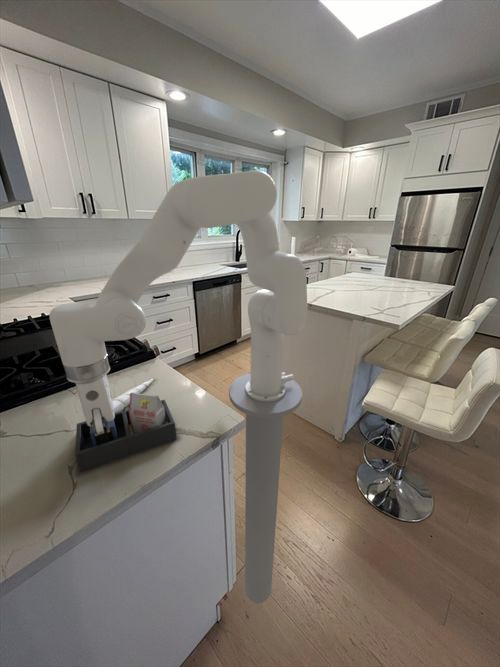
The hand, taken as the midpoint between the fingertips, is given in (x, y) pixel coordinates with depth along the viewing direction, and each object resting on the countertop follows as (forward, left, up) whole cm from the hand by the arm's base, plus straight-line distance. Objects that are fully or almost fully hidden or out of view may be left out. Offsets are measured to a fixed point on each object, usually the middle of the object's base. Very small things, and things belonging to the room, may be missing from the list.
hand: (105, 438), depth 61 cm
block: (0, 0, 0) cm, 0 cm away
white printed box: (-9, 0, -2) cm, 9 cm away
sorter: (-4, 0, -2) cm, 5 cm away
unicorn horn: (-5, -14, -3) cm, 15 cm away
